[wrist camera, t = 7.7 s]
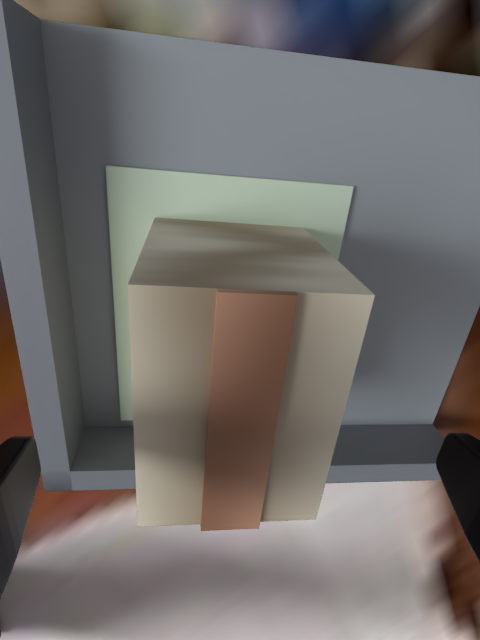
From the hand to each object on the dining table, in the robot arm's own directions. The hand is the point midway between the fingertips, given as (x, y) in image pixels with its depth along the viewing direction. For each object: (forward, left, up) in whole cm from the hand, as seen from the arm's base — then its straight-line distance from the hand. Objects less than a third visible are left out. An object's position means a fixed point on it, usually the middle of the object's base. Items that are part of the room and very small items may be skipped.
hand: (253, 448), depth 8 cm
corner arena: (+1, -2, -8) cm, 8 cm away
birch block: (0, 0, -7) cm, 7 cm away
